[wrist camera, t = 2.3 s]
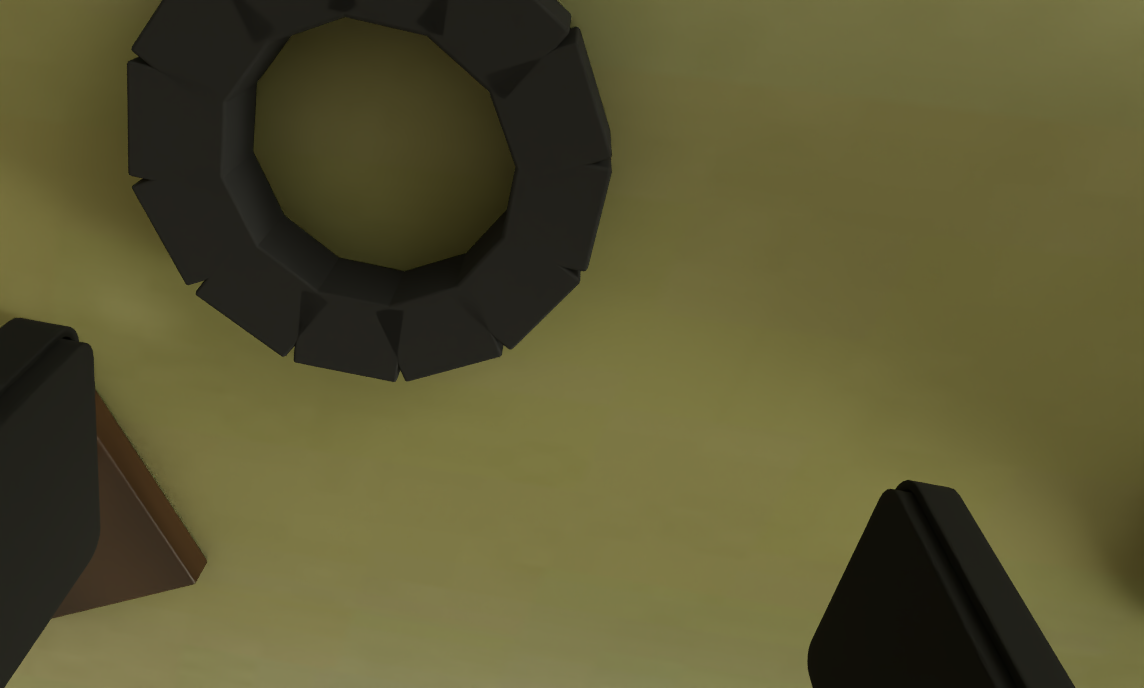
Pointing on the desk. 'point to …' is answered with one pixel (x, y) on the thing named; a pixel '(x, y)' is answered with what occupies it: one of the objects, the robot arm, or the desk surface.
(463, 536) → the desk surface
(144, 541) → the peg stand
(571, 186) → the charcoal ring
